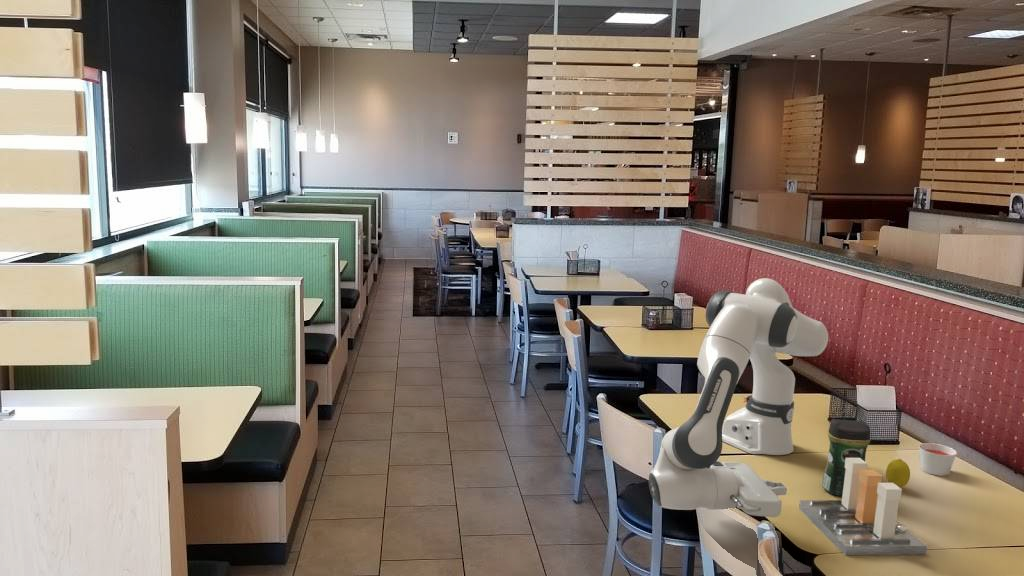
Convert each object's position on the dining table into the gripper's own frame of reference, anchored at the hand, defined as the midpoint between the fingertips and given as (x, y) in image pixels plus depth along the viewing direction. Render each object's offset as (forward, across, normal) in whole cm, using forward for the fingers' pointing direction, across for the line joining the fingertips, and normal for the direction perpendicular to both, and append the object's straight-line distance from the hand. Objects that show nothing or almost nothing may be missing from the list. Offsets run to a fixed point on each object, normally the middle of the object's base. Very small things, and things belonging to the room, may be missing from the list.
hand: (784, 488), depth 175 cm
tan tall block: (+20, 0, +8) cm, 21 cm away
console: (+18, 0, +10) cm, 21 cm away
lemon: (+40, +22, +11) cm, 47 cm away
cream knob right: (+20, -7, +8) cm, 23 cm away
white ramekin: (+58, +33, +11) cm, 68 cm away
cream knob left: (+20, +7, +8) cm, 22 cm away
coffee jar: (+25, +20, +11) cm, 34 cm away
